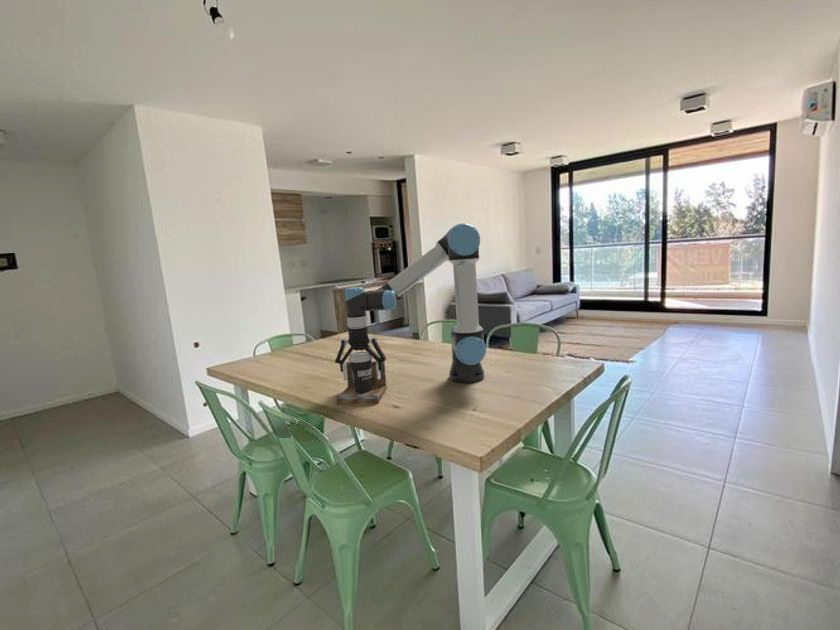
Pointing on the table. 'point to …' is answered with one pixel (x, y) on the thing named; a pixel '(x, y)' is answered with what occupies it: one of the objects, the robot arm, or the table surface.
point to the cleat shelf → (369, 397)
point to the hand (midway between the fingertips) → (362, 379)
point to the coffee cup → (361, 371)
